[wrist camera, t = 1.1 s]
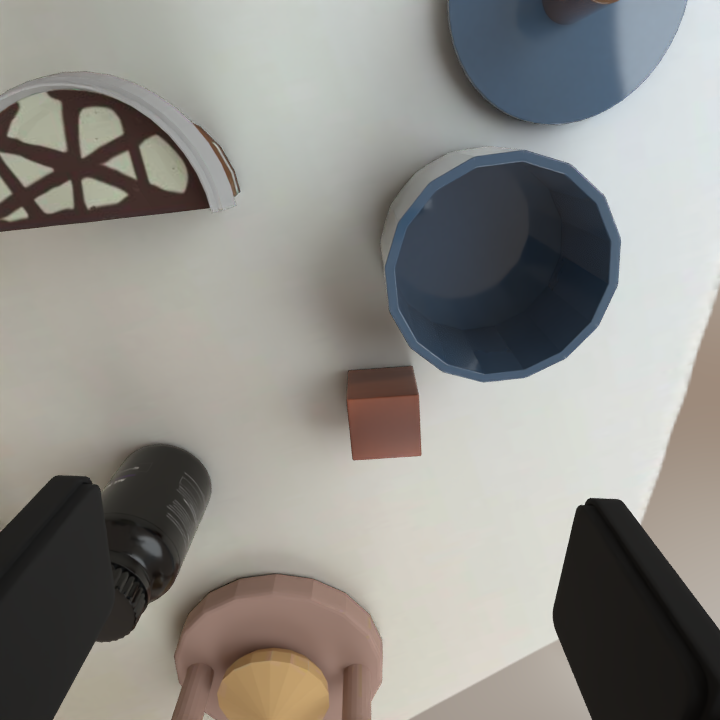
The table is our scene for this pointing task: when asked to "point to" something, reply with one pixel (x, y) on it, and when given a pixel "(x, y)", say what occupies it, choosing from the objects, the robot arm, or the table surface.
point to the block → (383, 413)
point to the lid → (560, 52)
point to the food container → (102, 154)
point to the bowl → (498, 262)
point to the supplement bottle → (150, 528)
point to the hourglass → (278, 653)
